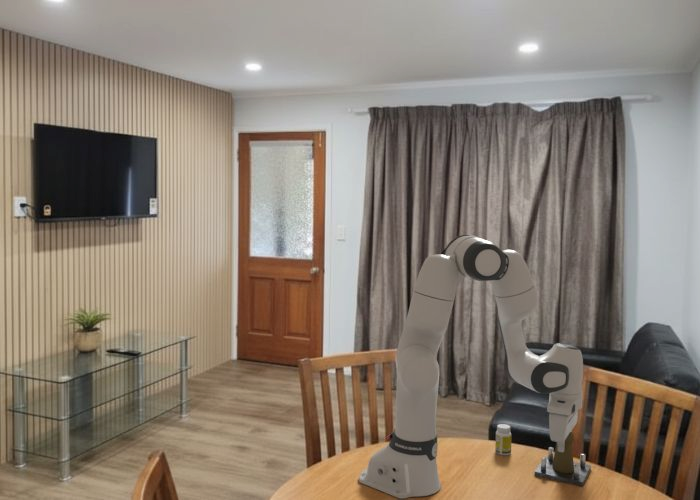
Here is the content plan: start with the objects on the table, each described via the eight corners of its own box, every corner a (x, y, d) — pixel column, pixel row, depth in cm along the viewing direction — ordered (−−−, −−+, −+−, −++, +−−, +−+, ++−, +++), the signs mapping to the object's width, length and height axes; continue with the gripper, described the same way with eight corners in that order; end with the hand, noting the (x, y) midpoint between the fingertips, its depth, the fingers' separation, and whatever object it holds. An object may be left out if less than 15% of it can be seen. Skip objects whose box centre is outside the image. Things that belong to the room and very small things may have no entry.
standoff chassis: (534, 475, 175) (534, 459, 175) (545, 459, 186) (545, 444, 186) (582, 486, 168) (583, 469, 168) (590, 469, 180) (591, 453, 179)
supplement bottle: (513, 451, 192) (513, 425, 191) (508, 456, 188) (509, 430, 188) (498, 448, 195) (498, 422, 194) (493, 453, 191) (493, 426, 190)
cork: (575, 473, 174) (577, 435, 173) (553, 471, 175) (554, 433, 174) (572, 464, 180) (573, 428, 179) (550, 463, 181) (552, 426, 180)
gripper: (561, 389, 186) (560, 433, 187) (545, 408, 169) (544, 457, 170) (583, 392, 183) (582, 437, 184) (569, 412, 166) (567, 462, 167)
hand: (563, 447), depth 177 cm, fingers open, 5 cm apart
